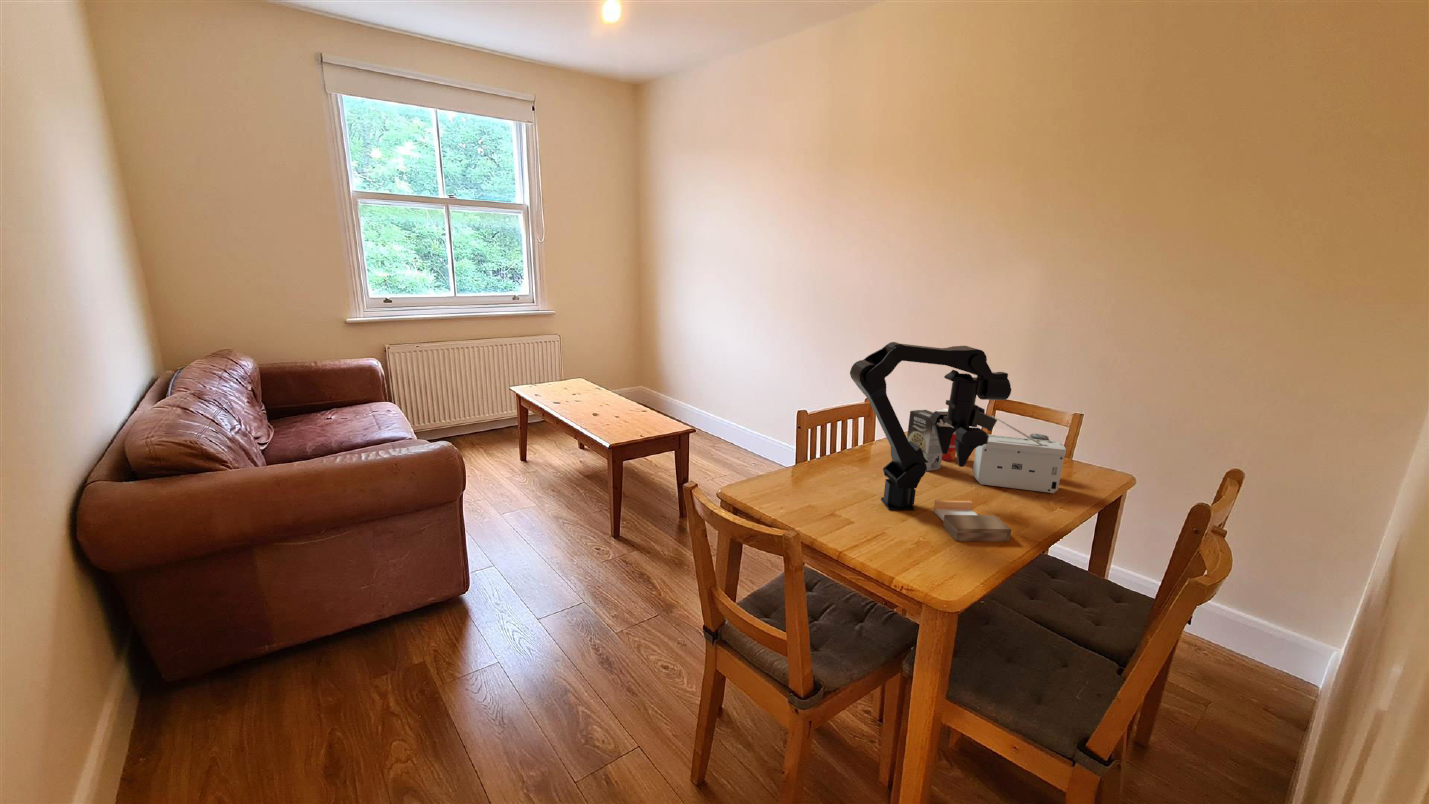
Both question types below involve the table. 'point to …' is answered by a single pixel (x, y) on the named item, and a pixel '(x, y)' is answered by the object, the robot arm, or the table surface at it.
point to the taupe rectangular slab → (976, 528)
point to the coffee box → (925, 437)
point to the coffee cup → (952, 448)
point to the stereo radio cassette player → (1019, 463)
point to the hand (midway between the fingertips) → (952, 460)
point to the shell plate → (953, 508)
